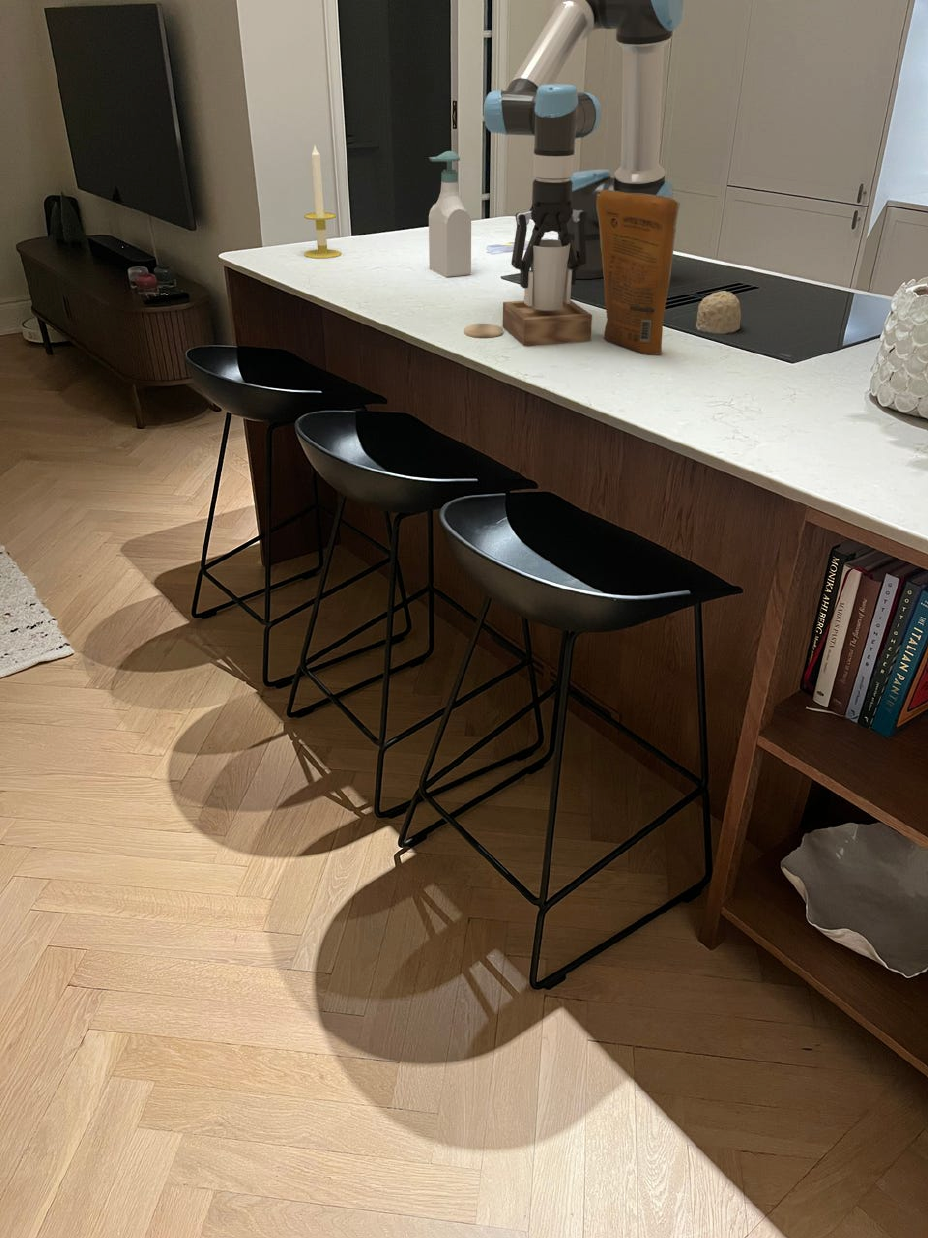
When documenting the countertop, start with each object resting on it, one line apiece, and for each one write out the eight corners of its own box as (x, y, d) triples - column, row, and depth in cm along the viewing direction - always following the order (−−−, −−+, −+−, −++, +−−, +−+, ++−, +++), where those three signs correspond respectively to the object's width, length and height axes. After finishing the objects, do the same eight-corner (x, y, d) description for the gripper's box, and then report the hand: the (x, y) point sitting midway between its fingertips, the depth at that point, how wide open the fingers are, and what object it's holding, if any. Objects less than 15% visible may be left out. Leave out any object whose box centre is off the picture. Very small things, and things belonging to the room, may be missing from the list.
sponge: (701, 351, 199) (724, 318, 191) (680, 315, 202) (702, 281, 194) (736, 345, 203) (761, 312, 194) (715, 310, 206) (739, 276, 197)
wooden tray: (565, 321, 203) (567, 297, 200) (590, 340, 192) (592, 314, 189) (502, 326, 200) (503, 301, 197) (523, 345, 189) (524, 319, 186)
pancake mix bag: (649, 360, 181) (666, 200, 166) (583, 336, 194) (593, 186, 179) (675, 354, 184) (694, 196, 169) (608, 331, 197) (620, 182, 182)
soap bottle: (423, 268, 244) (420, 149, 229) (452, 265, 247) (452, 147, 232) (440, 278, 235) (439, 154, 220) (470, 275, 238) (471, 152, 223)
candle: (349, 253, 259) (342, 142, 244) (325, 260, 252) (317, 146, 237) (320, 248, 263) (312, 139, 249) (296, 255, 256) (286, 143, 242)
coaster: (496, 325, 201) (496, 322, 200) (508, 336, 194) (508, 333, 194) (459, 328, 199) (459, 325, 198) (469, 339, 192) (469, 336, 192)
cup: (564, 312, 189) (568, 248, 183) (524, 310, 190) (526, 246, 184) (568, 302, 196) (572, 239, 189) (530, 299, 197) (532, 238, 191)
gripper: (595, 173, 186) (587, 294, 198) (495, 177, 181) (493, 301, 193) (610, 179, 180) (601, 304, 192) (507, 183, 175) (504, 311, 187)
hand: (547, 302), depth 193 cm, fingers closed on cup, 7 cm apart
